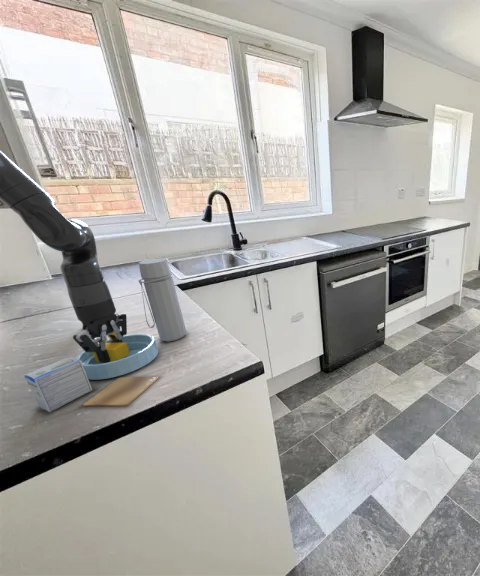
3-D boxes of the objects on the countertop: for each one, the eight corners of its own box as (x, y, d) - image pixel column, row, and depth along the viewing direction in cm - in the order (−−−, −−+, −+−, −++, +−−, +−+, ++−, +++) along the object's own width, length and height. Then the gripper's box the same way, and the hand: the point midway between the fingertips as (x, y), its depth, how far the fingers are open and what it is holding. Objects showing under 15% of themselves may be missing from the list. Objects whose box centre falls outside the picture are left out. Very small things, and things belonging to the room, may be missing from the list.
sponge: (96, 361, 83) (91, 350, 81) (108, 353, 86) (104, 342, 85) (118, 361, 83) (114, 349, 81) (129, 353, 86) (126, 342, 85)
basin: (63, 382, 77) (56, 366, 75) (117, 347, 92) (112, 334, 91) (128, 381, 77) (122, 365, 75) (171, 347, 92) (167, 333, 90)
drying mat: (82, 406, 68) (82, 404, 68) (119, 378, 78) (119, 377, 78) (127, 405, 68) (127, 404, 68) (158, 378, 78) (158, 376, 77)
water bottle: (186, 329, 103) (167, 256, 95) (188, 338, 97) (168, 261, 89) (152, 337, 98) (129, 261, 89) (153, 347, 92) (128, 267, 84)
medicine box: (82, 386, 75) (69, 355, 72) (93, 390, 73) (81, 359, 70) (38, 408, 68) (22, 374, 65) (50, 413, 66) (34, 379, 63)
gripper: (101, 289, 85) (120, 344, 91) (48, 310, 72) (74, 372, 78) (128, 289, 85) (145, 343, 91) (80, 310, 72) (104, 372, 78)
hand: (112, 356), depth 84 cm, fingers closed on sponge, 4 cm apart
